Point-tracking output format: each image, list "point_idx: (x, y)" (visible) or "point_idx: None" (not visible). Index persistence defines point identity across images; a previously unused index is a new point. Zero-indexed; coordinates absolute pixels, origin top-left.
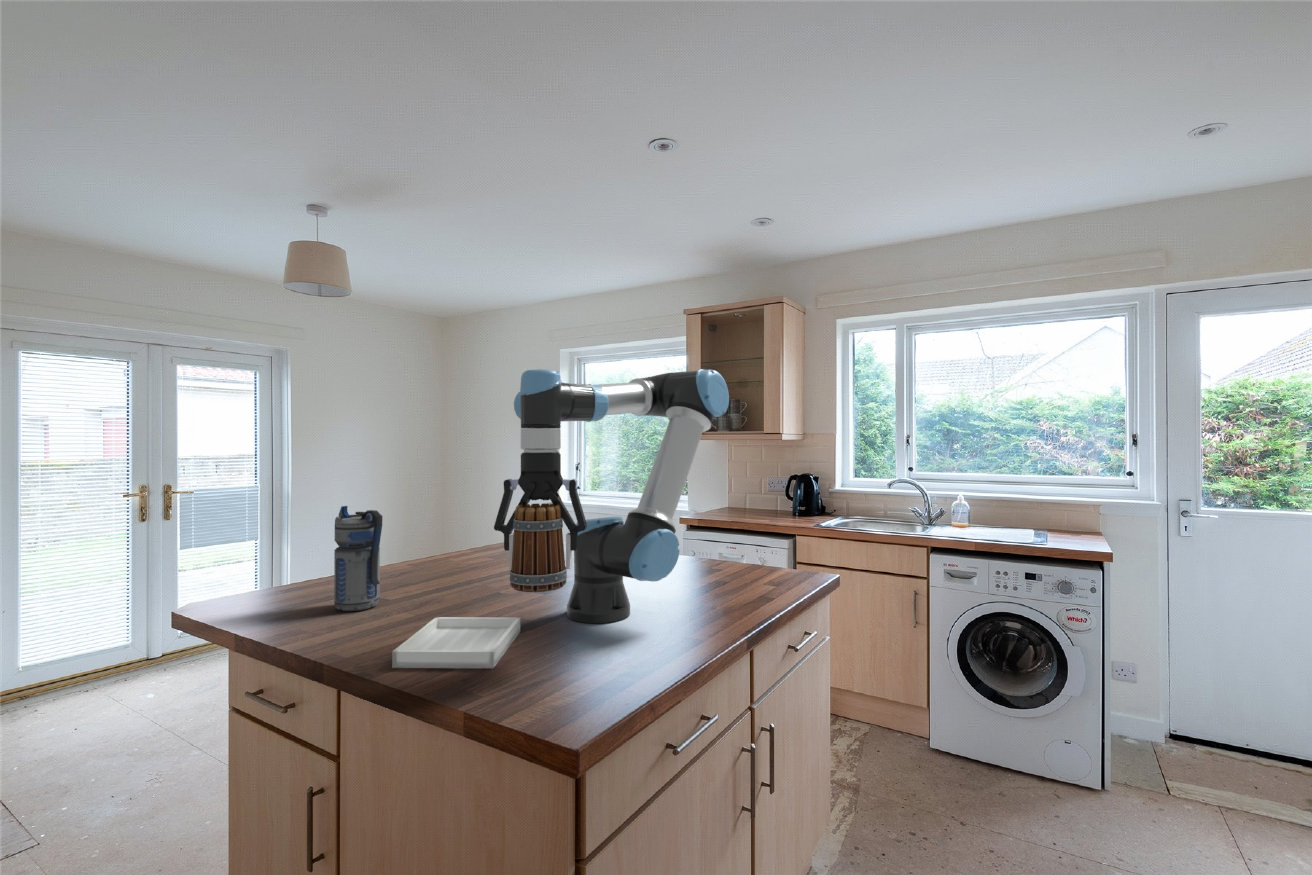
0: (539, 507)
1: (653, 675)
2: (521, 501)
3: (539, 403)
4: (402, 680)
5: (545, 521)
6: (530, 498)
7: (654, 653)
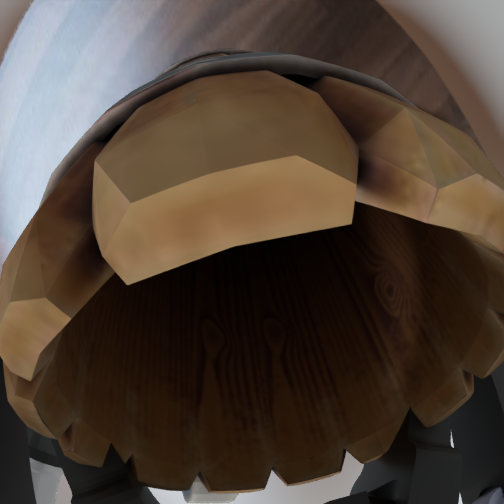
0: (278, 459)
1: (27, 76)
2: (446, 447)
3: None
4: (418, 74)
5: (139, 95)
6: (380, 501)
7: (33, 169)
